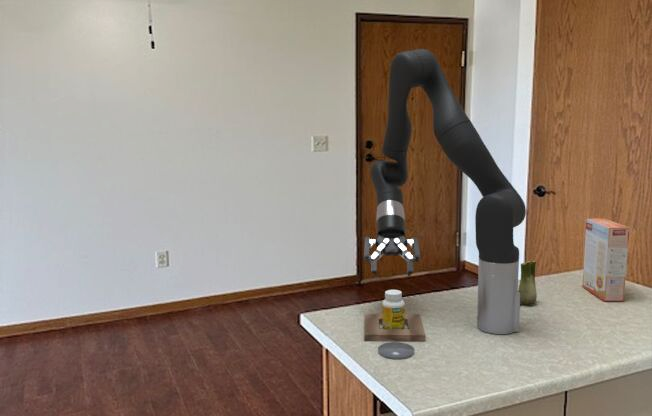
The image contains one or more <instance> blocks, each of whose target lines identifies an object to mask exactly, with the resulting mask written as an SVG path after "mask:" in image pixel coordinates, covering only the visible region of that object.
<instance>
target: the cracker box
mask: <svg viewBox="0 0 652 416" xmlns="http://www.w3.org/2000/svg"><path fill="white" fill-rule="evenodd" d="M585 224H586V225H585V238H584V242H585V243H584V252H583V253H584V255H583V272H582V273H583V274H582V284H581V285H582V288H583V289H585V290H587V292H590V293H591V294H592V295H594V296H595V297H597V298H598V299H600V300H601V301H603V302H624V300H625V293H626V292H625V289H626V288H625V287H626V280H627V279H626V278H627V277H626V275H627V266H628V265H627V261H628V253H629V252H628V249H629V239H630V227H629V226H628V225H624V224H621V223H618V222H616V221H613V220H610V219H608V218H603V217H602V218H601V217H600V218H599V217H598V218H586V222H585Z"/></svg>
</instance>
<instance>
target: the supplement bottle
mask: <svg viewBox="0 0 652 416" xmlns="http://www.w3.org/2000/svg"><path fill="white" fill-rule="evenodd" d="M402 294H403V292H402V291H401V290H398V289H388V290H386V291H385V292H384V300H383V301H382V303H381V305H382V308H381V309H382V311H381V314H383V325H382V329H405V326H406V325H405V314H406V313H405V310H406V309H405V308H406V307H405V306H406V305H405V304H406V303H405V301H404V300H403V299H402Z"/></svg>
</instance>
